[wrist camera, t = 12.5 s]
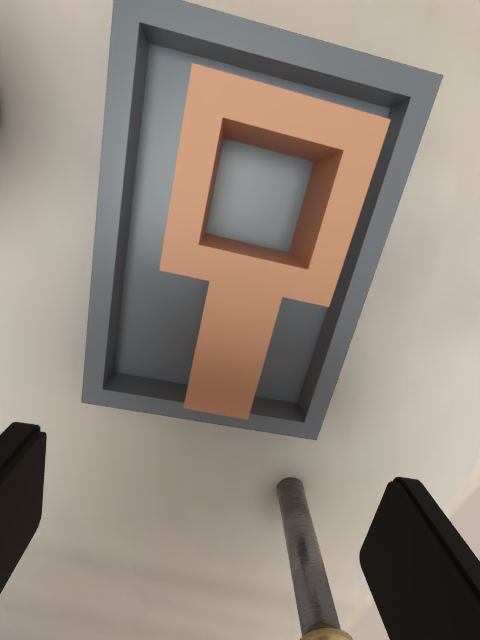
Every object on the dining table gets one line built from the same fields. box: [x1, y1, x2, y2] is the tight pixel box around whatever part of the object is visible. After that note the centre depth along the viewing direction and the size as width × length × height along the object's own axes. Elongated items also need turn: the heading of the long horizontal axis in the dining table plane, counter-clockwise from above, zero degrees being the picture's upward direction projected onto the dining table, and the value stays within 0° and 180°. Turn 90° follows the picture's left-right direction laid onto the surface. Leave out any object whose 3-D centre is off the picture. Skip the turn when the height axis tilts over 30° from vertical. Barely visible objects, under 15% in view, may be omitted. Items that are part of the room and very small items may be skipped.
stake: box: [277, 478, 353, 640], centre depth 19 cm, size 3×3×10 cm
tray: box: [81, 0, 443, 440], centre depth 17 cm, size 18×13×2 cm
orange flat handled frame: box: [159, 63, 391, 420], centre depth 16 cm, size 7×13×4 cm, turn 167°
